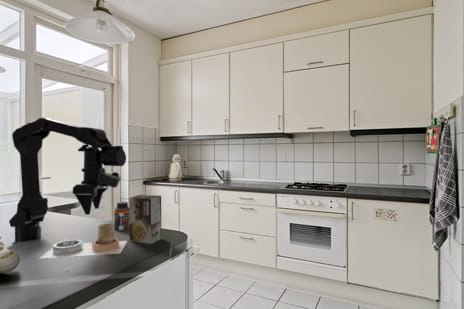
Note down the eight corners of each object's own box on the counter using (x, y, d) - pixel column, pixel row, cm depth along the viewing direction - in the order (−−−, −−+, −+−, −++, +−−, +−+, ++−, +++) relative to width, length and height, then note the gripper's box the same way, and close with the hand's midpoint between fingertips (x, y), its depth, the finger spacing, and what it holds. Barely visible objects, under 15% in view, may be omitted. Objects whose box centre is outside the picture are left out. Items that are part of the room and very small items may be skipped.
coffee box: (162, 241, 97) (162, 195, 96) (151, 247, 90) (151, 198, 90) (140, 238, 100) (140, 194, 99) (128, 244, 93) (128, 196, 93)
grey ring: (48, 255, 80) (48, 248, 80) (59, 246, 88) (59, 240, 88) (76, 253, 82) (76, 246, 82) (85, 245, 89) (85, 239, 89)
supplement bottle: (124, 233, 106) (124, 204, 106) (111, 232, 107) (110, 203, 107) (133, 229, 112) (133, 201, 112) (120, 228, 113) (120, 200, 113)
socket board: (38, 262, 78) (38, 258, 78) (56, 247, 90) (56, 244, 90) (120, 256, 82) (120, 253, 82) (127, 243, 94) (127, 240, 94)
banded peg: (96, 250, 84) (95, 227, 84) (100, 245, 89) (100, 224, 89) (111, 249, 85) (111, 227, 85) (115, 244, 90) (115, 223, 90)
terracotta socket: (89, 252, 83) (89, 246, 82) (96, 244, 90) (96, 238, 90) (115, 251, 84) (115, 244, 84) (121, 243, 91) (120, 237, 91)
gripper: (111, 167, 85) (110, 217, 85) (124, 164, 103) (123, 205, 103) (72, 166, 83) (71, 218, 83) (92, 163, 101) (91, 206, 101)
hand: (92, 211), depth 93 cm, fingers open, 9 cm apart
